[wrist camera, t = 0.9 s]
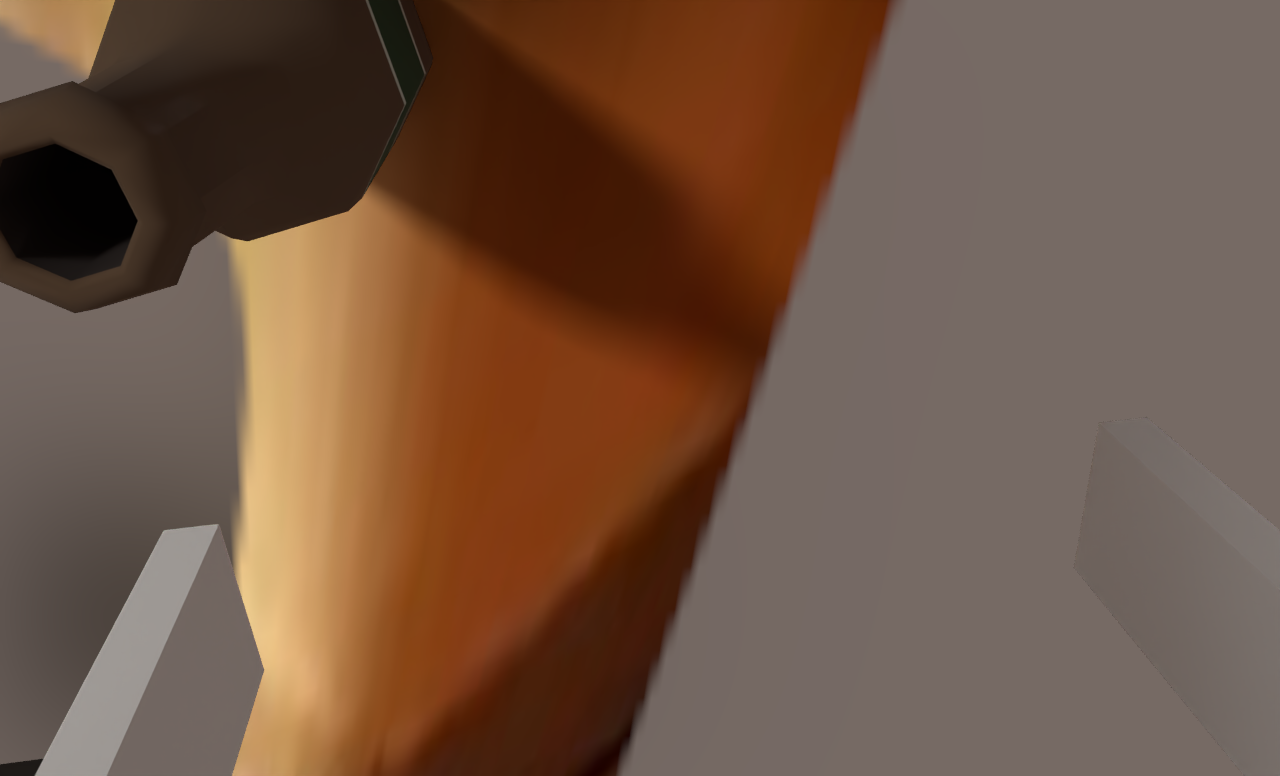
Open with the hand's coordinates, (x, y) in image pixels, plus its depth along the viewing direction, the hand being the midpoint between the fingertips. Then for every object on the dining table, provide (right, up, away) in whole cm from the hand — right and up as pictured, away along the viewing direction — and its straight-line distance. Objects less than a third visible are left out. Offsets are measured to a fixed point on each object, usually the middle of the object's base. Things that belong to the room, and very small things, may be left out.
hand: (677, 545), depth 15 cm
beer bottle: (-12, +15, +22) cm, 30 cm away
